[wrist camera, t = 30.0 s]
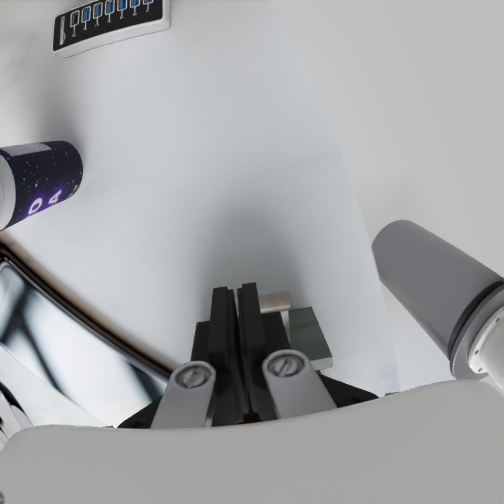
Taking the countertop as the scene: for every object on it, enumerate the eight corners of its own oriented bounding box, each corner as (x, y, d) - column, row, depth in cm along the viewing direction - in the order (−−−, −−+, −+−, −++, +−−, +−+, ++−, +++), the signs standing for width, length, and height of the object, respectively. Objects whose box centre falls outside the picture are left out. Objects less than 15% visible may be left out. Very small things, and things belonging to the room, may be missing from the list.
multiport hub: (170, 29, 21) (165, 20, 18) (62, 59, 20) (50, 54, 18) (169, -9, 19) (165, -19, 17) (64, 22, 19) (53, 16, 17)
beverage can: (33, 180, 24) (-49, 210, 13) (55, 130, 23) (-31, 137, 12) (72, 209, 26) (-5, 254, 15) (97, 158, 24) (16, 177, 13)
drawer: (186, 280, 28) (171, 328, 21) (309, 262, 28) (333, 306, 21) (223, 413, 35) (223, 463, 28) (313, 401, 35) (326, 449, 28)
